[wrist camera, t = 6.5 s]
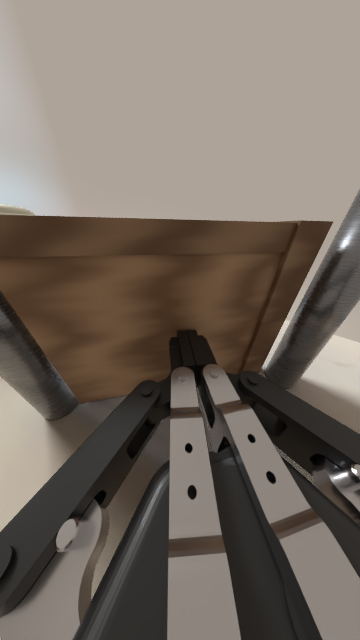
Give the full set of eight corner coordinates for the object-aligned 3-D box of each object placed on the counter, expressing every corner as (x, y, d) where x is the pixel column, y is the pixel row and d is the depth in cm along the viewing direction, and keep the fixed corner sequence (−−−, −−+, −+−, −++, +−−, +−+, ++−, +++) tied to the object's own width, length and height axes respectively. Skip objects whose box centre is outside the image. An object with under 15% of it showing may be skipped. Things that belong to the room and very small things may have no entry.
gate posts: (35, 422, 13) (-351, 101, 3) (55, 390, 15) (-135, 155, 6) (301, 387, 16) (477, 171, 6) (281, 365, 18) (388, 187, 9)
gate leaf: (79, 408, 13) (-69, 209, 5) (87, 385, 15) (-11, 214, 7) (258, 373, 17) (333, 221, 9) (246, 357, 19) (298, 222, 11)
